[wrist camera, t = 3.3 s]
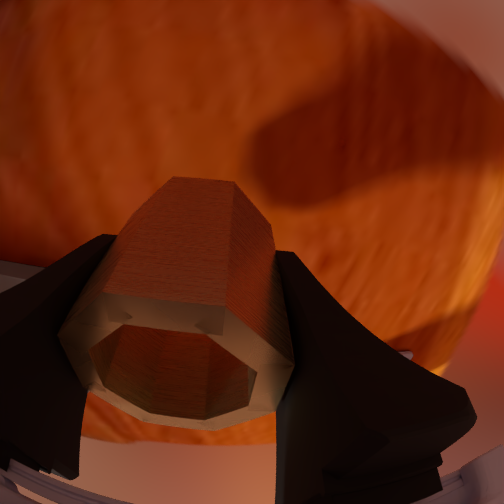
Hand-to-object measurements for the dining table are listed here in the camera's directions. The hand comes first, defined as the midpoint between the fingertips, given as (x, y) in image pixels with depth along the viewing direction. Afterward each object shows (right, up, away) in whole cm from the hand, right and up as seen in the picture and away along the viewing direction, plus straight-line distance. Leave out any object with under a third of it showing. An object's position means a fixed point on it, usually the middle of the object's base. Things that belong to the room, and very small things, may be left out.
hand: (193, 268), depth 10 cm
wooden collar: (0, +1, +1) cm, 2 cm away
